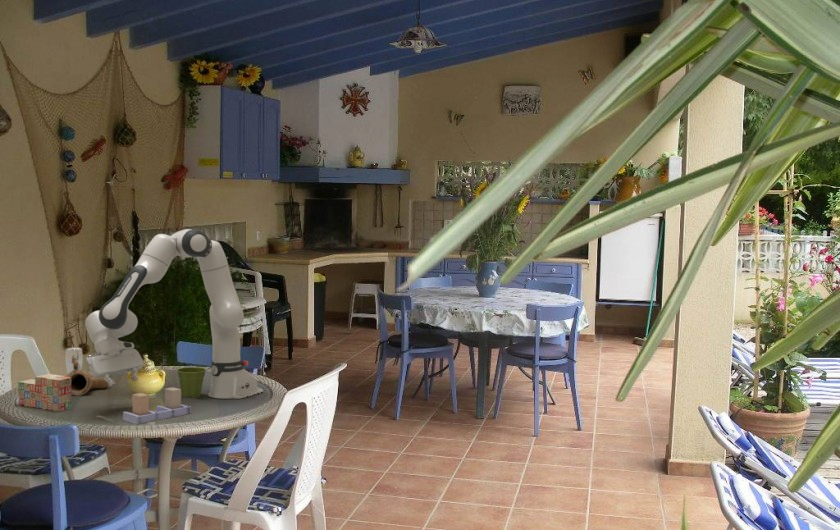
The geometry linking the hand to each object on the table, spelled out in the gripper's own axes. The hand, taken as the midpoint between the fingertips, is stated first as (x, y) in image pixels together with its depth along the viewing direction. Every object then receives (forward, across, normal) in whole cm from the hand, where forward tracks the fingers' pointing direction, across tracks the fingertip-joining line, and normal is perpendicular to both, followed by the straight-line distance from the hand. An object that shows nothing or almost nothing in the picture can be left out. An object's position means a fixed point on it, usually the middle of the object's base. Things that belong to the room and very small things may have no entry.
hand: (124, 382), depth 329 cm
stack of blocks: (-12, -13, +34) cm, 38 cm away
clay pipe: (-18, +11, +43) cm, 48 cm away
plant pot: (+7, +34, +14) cm, 37 cm away
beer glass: (-30, +17, +58) cm, 68 cm away
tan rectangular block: (+17, -2, -3) cm, 17 cm away
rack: (+18, +4, -3) cm, 19 cm away
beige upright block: (+18, +11, -3) cm, 21 cm away
